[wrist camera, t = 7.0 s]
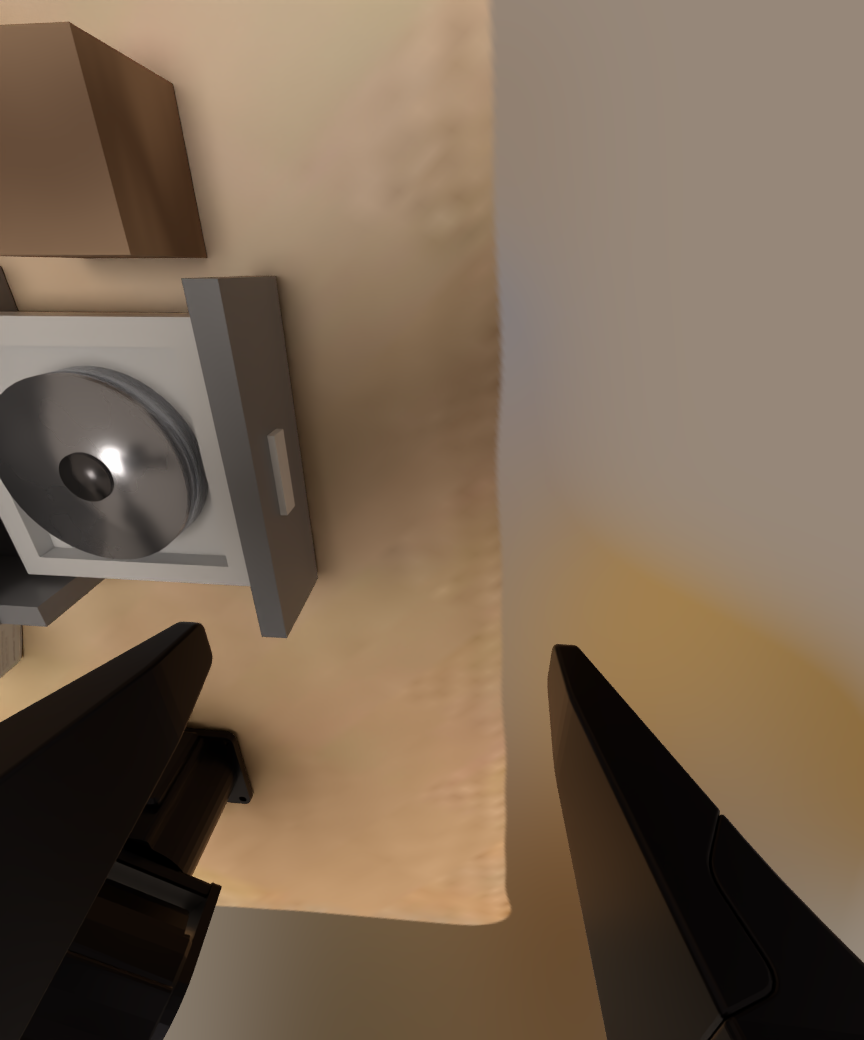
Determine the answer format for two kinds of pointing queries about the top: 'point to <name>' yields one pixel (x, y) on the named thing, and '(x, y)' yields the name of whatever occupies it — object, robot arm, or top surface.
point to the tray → (215, 423)
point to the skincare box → (10, 646)
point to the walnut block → (89, 152)
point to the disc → (100, 461)
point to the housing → (4, 579)
